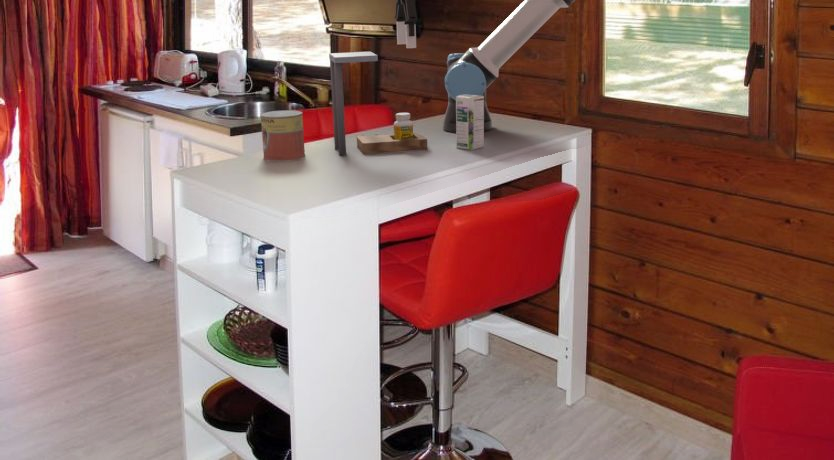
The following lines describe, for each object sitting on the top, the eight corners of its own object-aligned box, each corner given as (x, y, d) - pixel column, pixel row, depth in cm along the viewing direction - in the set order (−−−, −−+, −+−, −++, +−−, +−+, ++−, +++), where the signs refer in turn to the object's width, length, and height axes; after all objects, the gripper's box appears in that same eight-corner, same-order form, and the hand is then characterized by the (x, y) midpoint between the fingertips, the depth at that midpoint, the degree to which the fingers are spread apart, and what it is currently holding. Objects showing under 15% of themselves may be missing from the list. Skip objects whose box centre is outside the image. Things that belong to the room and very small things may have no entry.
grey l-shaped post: (374, 145, 265) (370, 51, 258) (381, 153, 254) (377, 55, 246) (334, 148, 263) (329, 53, 255) (339, 156, 252) (334, 57, 244)
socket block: (419, 142, 267) (418, 132, 266) (427, 149, 257) (427, 139, 256) (357, 146, 264) (356, 136, 263) (363, 154, 253) (362, 143, 252)
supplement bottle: (406, 145, 264) (405, 111, 262) (417, 147, 260) (416, 113, 257) (390, 147, 262) (389, 113, 259) (401, 150, 257) (400, 115, 255)
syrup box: (455, 148, 258) (454, 96, 254) (469, 144, 262) (468, 93, 258) (471, 150, 254) (470, 97, 250) (484, 147, 258) (484, 95, 254)
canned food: (259, 155, 255) (255, 112, 252) (298, 151, 260) (295, 108, 256) (269, 163, 245) (266, 118, 242) (310, 158, 250) (307, 114, 246)
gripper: (383, -30, 273) (386, 43, 279) (399, -30, 250) (402, 50, 255) (408, -31, 274) (410, 42, 280) (426, -31, 251) (428, 49, 257)
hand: (406, 46), depth 268 cm, fingers open, 13 cm apart
